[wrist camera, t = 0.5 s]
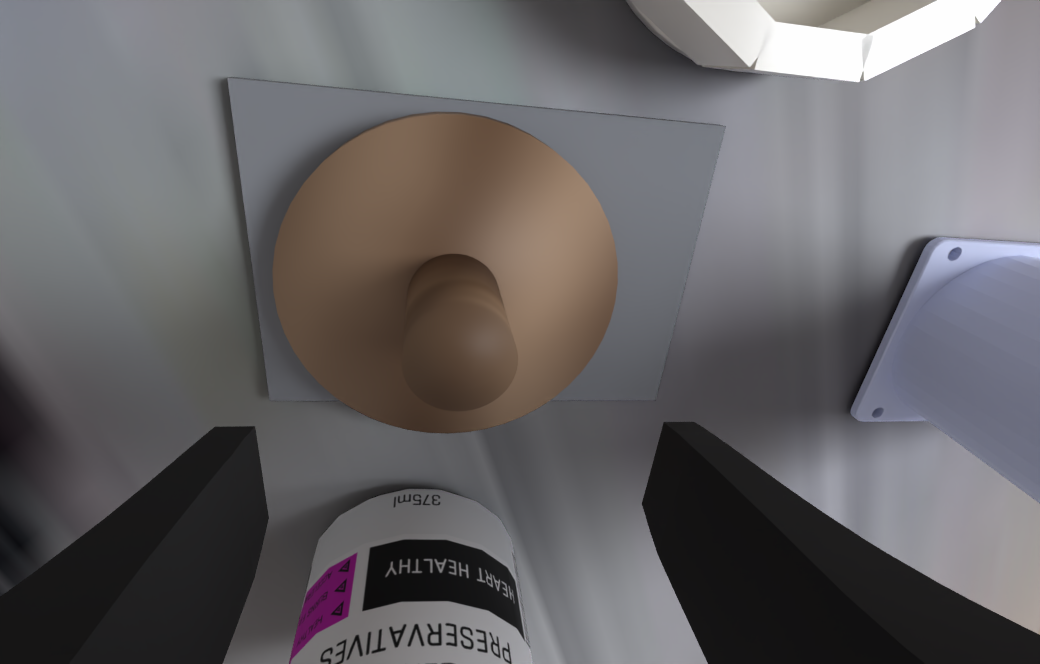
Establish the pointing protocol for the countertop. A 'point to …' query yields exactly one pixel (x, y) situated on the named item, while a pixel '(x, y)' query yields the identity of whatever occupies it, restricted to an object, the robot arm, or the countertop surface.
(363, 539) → the supplement can
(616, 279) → the lid
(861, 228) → the countertop surface
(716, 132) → the mat
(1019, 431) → the robot arm
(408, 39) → the countertop surface
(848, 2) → the bowl
